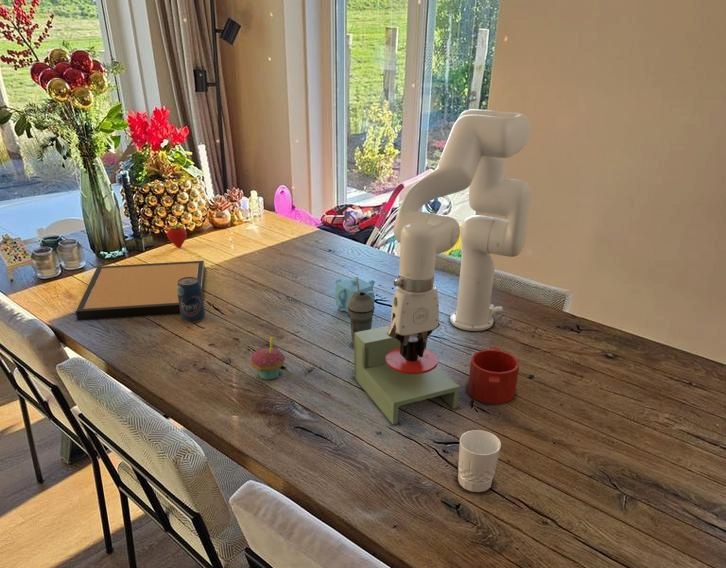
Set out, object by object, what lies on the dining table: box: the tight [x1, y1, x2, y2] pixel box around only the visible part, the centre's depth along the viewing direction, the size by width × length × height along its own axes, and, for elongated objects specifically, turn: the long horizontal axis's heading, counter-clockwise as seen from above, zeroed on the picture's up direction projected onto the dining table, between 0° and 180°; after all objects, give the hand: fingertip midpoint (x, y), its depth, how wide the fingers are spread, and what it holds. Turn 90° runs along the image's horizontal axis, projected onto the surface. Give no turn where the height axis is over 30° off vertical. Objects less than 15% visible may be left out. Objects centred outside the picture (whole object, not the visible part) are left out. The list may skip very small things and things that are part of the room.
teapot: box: [334, 276, 376, 314], centre depth 190 cm, size 18×14×10 cm
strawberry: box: [166, 222, 188, 249], centre depth 234 cm, size 6×8×10 cm
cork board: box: [75, 260, 206, 321], centre depth 202 cm, size 36×3×35 cm
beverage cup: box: [347, 276, 375, 348], centre depth 169 cm, size 7×7×20 cm
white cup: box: [457, 429, 502, 493], centre depth 124 cm, size 8×8×10 cm
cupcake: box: [250, 334, 286, 380], centre depth 157 cm, size 9×8×12 cm
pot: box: [467, 346, 520, 405], centre depth 153 cm, size 11×17×8 cm
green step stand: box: [353, 324, 460, 425], centre depth 151 cm, size 22×17×13 cm
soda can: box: [176, 277, 206, 324], centre depth 184 cm, size 7×7×12 cm
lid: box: [385, 337, 439, 374], centre depth 145 cm, size 12×12×6 cm
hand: (411, 355), depth 145 cm, fingers closed on lid, 2 cm apart
